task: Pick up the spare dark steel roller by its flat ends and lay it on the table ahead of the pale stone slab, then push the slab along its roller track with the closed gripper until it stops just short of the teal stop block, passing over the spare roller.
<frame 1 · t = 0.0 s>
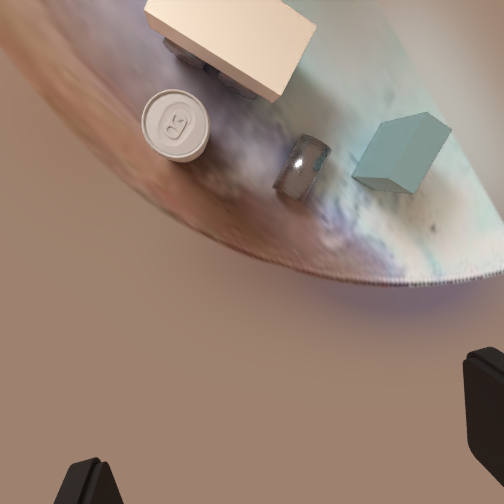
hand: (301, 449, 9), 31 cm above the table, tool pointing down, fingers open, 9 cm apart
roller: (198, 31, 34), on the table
spare roller: (296, 169, 39), on the table
beverage can: (182, 138, 37), on the table
stop block: (377, 156, 40), on the table
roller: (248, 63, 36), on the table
slab: (231, 26, 30), point 6 cm above the table, slide at 0.0 cm
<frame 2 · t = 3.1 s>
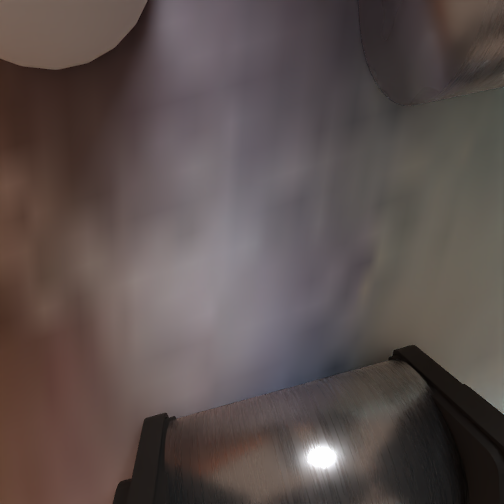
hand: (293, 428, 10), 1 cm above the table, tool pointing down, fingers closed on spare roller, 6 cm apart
spare roller: (287, 411, 10), on the table, tilted 5°, touching gripper
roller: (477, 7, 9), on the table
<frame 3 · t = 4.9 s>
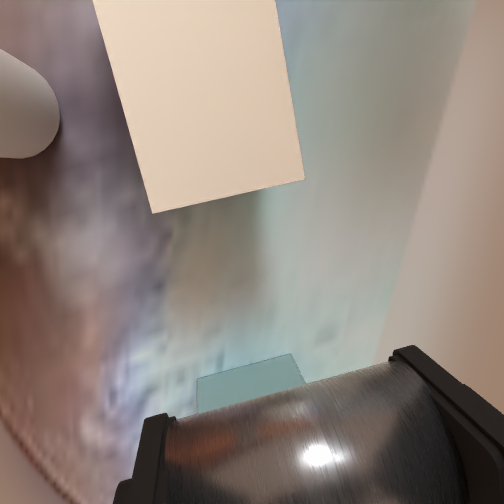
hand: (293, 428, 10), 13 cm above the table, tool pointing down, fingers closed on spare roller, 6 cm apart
spare roller: (287, 412, 11), point 13 cm above the table, tilted 5°, touching gripper
beverage can: (16, 112, 19), on the table
stop block: (249, 385, 24), on the table
slab: (192, 40, 14), point 6 cm above the table, slide at 0.0 cm
when the fingers open (1 cm above the table, at t = 7.1 s): spare roller stays where it is, on the table.
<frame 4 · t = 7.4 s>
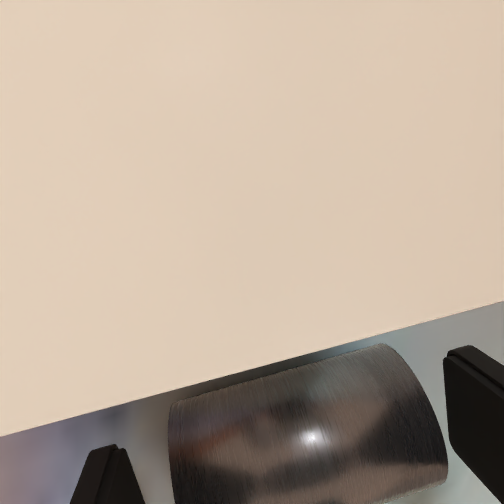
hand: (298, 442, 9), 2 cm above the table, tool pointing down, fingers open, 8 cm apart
spare roller: (282, 394, 11), on the table, tilted 6°
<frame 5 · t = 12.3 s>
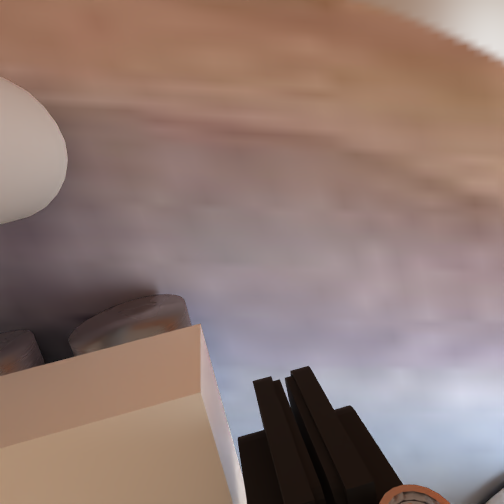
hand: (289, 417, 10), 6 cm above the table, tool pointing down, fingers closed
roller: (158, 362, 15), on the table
beverage can: (4, 152, 13), on the table
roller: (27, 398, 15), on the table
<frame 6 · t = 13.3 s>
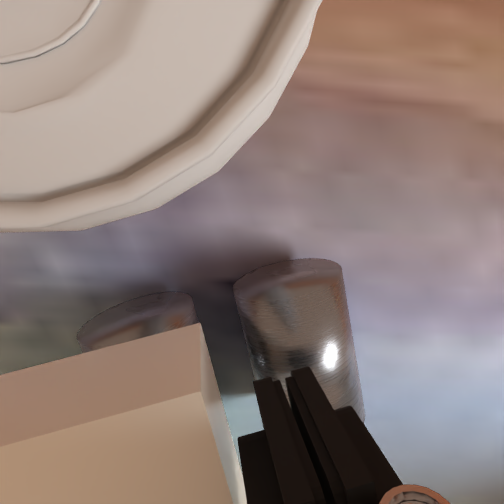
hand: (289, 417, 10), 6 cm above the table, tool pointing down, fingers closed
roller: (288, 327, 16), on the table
beverage can: (162, 118, 13), on the table
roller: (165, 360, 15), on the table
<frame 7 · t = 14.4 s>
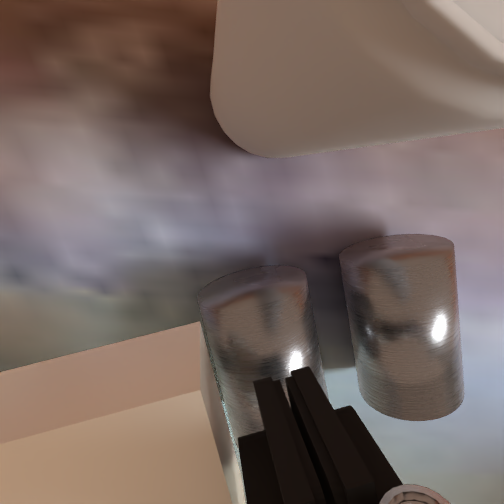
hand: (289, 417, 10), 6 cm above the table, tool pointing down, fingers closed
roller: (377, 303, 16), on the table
beverage can: (271, 94, 14), on the table
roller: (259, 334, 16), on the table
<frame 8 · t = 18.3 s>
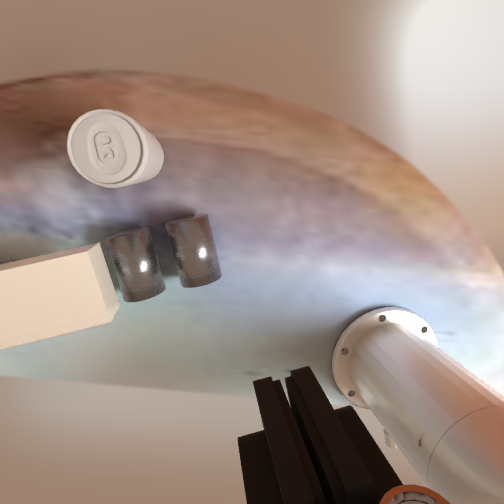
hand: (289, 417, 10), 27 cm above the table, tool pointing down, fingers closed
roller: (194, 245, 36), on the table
beverage can: (138, 155, 34), on the table
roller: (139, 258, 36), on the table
slab: (30, 298, 29), point 6 cm above the table, slide at 10.5 cm
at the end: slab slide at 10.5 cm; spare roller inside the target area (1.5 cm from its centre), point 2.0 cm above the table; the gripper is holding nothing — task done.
